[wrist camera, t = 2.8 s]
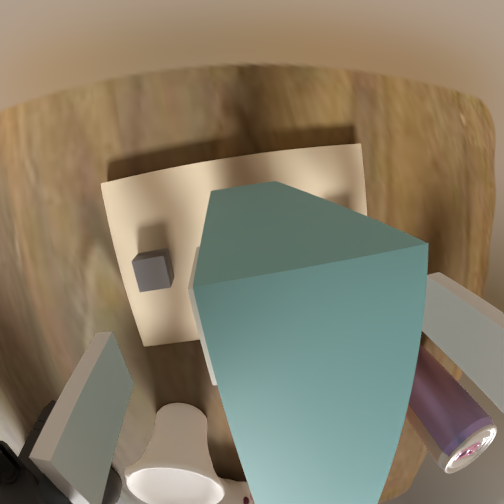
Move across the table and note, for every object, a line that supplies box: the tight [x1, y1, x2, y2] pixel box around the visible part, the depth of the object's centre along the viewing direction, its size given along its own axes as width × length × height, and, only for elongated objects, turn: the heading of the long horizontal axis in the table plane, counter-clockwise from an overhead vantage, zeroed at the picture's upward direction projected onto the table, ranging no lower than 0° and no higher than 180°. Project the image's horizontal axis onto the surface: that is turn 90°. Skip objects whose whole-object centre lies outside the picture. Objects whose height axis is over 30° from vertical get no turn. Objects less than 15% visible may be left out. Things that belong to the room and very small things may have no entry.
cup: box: [124, 403, 225, 504], centre depth 25 cm, size 9×9×10 cm
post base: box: [101, 144, 367, 347], centre depth 22 cm, size 20×14×8 cm
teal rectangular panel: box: [188, 181, 429, 504], centre depth 12 cm, size 3×11×13 cm, turn 8°
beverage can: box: [406, 344, 497, 473], centre depth 24 cm, size 6×6×15 cm
